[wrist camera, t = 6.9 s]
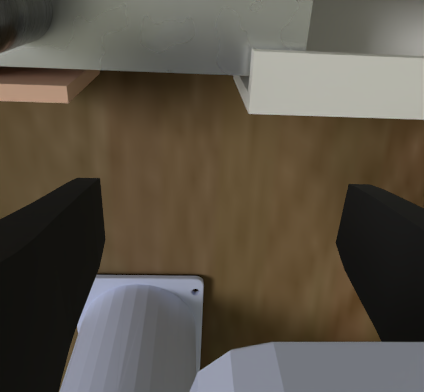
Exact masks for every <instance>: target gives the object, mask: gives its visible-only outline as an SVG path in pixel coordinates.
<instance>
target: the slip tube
mask: <svg viewBox="0 0 424 392" xmlns="http://www.w3.org/2000/svg"><path fill="white" fill-rule="evenodd" d="M312 4H313V0H0V66H8V67H34V68H60V69H86V70H112V71H138V72H164V73H189V74H215V75H241V76H250V64H251V53H252V49H270V50H294V51H306V46H307V39H308V32H309V25H310V18H311V11H312Z"/></svg>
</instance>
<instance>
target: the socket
mask: <svg viewBox="0 0 424 392" xmlns="http://www.w3.org/2000/svg"><path fill="white" fill-rule="evenodd" d="M99 74H100V70H86V69H60V68H34V67H8V66H0V101H18V102H48V103H69V102H70V101H71V100H72V99H73V98H74V97H76V96H77V95H78V94H79V93H80V92H81V91H82V90H83V89H84V88H85V87H86V86H87V85H88V84H89V83H90V82H91V81H92V80H93V79H95V78H96V77H97V76H98V75H99Z"/></svg>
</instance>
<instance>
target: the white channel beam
mask: <svg viewBox="0 0 424 392" xmlns="http://www.w3.org/2000/svg"><path fill="white" fill-rule="evenodd" d="M233 79H234V81H235V84H236V86H237V88H238V90H239V93H240V95H241V97H242V100H243V102H244V104H245V107H246V109H247V111H248V113H249V114H270V115H300V116H330V117H360V118H390V119H421V120H424V0H313V4H312V11H311V18H310V25H309V32H308V39H307V46H306V51H294V50H270V49H252V53H251V64H250V76H241V75H233Z"/></svg>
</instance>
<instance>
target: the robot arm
mask: <svg viewBox="0 0 424 392" xmlns="http://www.w3.org/2000/svg"><path fill="white" fill-rule="evenodd" d="M104 243H105V230H104V219H103V208H102V197H101V185H100V178H76V179H74V180H72V181H70V182H68V183H66V184H64V185H63V186H61V187H59V188H57V189H56V190H54V191H52V192H50V193H49V194H47V195H45V196H43V197H42V198H40V199H38V200H37V201H35V202H33V203H31V204H29V205H27V206H25V207H23V208H21V209H20V210H18V211H16V212H14V213H12V214H10V215H8V216H6V217H4V218H2V219H0V392H58V391H59V387H60V383H61V379H62V375H63V371H64V367H65V363H66V359H67V356H68V352H69V348H70V344H71V341H72V338H73V335H74V332H75V329H76V327H77V329H78V337H77V340H76V343H75V346H74V349H73V352H72V355H71V358H70V361H69V364H68V367H67V371H66V374H65V377H64V380H63V383H62V386H61V389H60V392H424V208H422V207H419V206H417V205H415V204H413V203H411V202H409V201H407V200H405V199H403V198H401V197H399V196H397V195H394V194H392V193H390V192H388V191H386V190H383V189H381V188H378V187H376V186H372V185H365V184H349V185H348V190H347V194H346V199H345V203H344V208H343V212H342V217H341V221H340V226H339V231H338V235H337V240H336V245H337V248H338V251H339V255H340V258H341V261H342V263H343V266H344V269H345V271H346V273H347V275H348V277H349V279H350V281H351V283H352V285H353V287H354V289H355V291H356V293H357V295H358V297H359V298H360V300H361V302H362V304H363V306H364V308H365V310H366V312H367V314H368V315H369V317H370V319H371V321H372V323H373V325H374V327H375V329H376V331H377V333H378V335H379V337H380V339H381V341H382V342H267V343H262V344H257V345H251V346H246V347H241V348H236V349H232V350H230V351H228V352H227V353H225V354H224V355H222V356H221V357H219V358H218V359H216V360H215V361H214V362H212V363H211V364H209V365H208V366H206V367H205V368H203V369H202V370H200V357H201V335H202V313H203V291H204V282H203V279H202V278H201V277H199V276H167V275H97V272H98V269H99V266H100V262H101V257H102V253H103V248H104ZM193 289H198V291H193Z"/></svg>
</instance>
